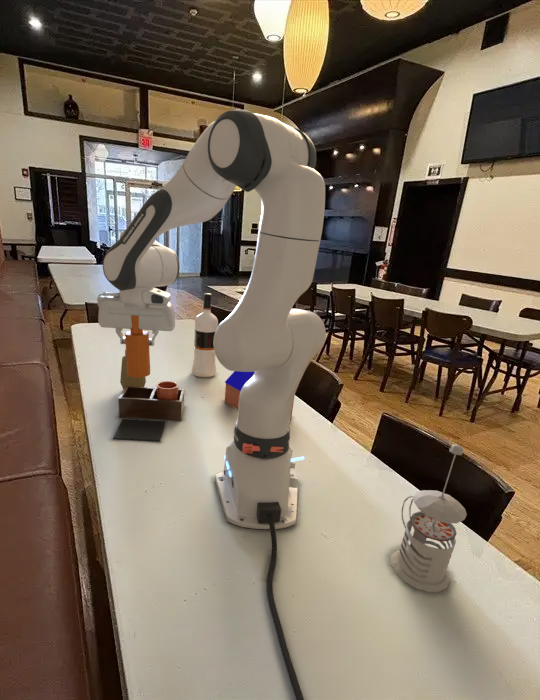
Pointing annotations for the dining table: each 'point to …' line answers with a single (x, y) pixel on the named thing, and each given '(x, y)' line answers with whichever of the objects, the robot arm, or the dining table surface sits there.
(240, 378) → the house
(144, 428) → the mat
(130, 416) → the wooden condiment rack
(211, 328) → the vodka
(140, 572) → the dining table surface
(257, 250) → the robot arm
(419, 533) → the french press
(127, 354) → the bottle
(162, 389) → the rack cup
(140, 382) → the squeeze bottle
